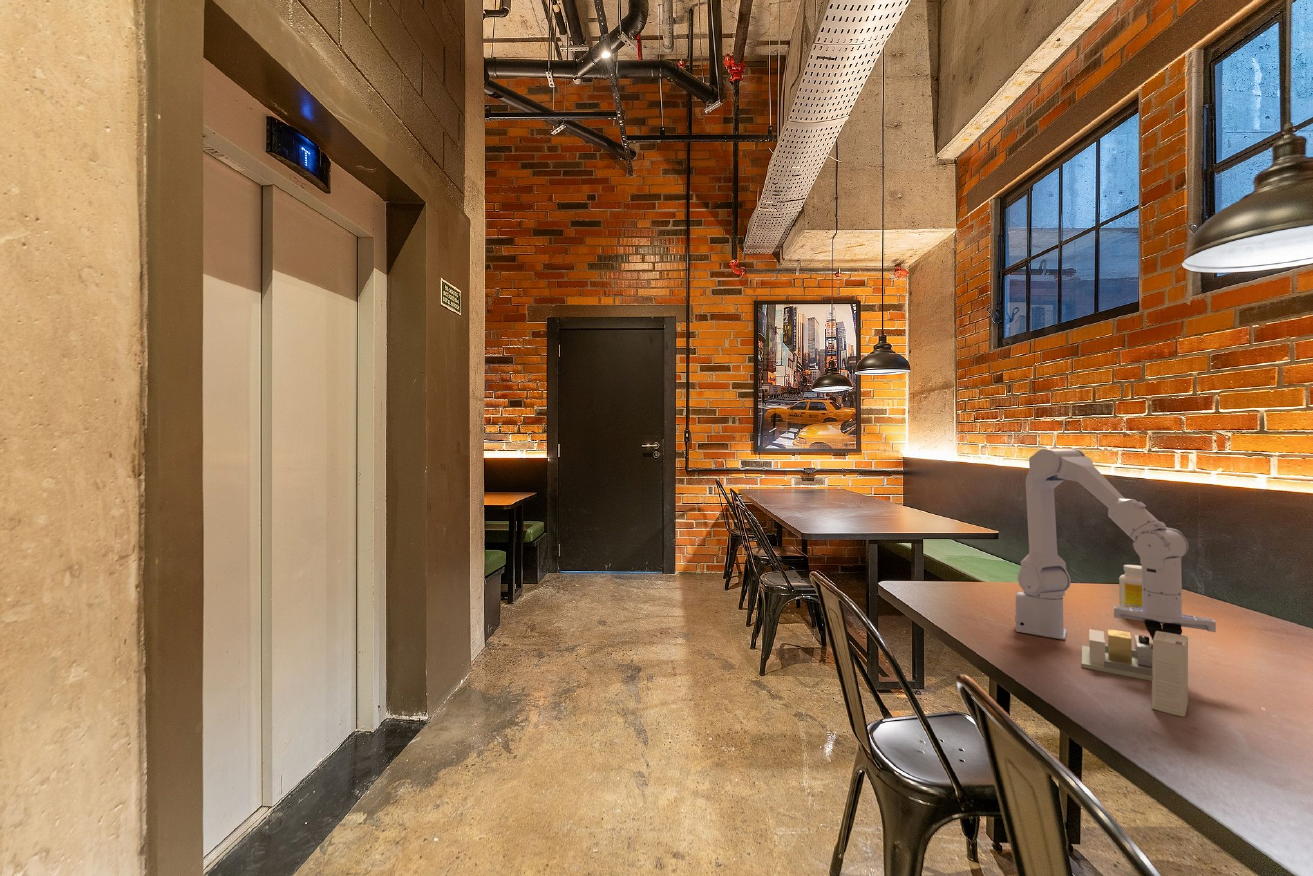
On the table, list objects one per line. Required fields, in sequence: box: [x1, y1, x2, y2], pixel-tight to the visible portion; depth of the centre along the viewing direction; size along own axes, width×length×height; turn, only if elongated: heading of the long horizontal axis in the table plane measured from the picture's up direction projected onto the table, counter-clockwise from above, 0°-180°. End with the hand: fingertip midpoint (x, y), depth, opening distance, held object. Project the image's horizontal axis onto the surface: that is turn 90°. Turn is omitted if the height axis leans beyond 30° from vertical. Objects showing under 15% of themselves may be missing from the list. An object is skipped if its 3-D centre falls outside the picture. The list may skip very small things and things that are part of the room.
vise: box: [1081, 628, 1152, 682], centre depth 110 cm, size 14×12×5 cm
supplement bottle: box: [1118, 564, 1143, 608], centre depth 140 cm, size 7×7×13 cm
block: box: [1107, 628, 1133, 665], centre depth 110 cm, size 4×4×6 cm
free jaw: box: [1134, 634, 1153, 668], centre depth 108 cm, size 2×8×5 cm, turn 142°
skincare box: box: [1151, 631, 1189, 718], centre depth 93 cm, size 6×4×12 cm
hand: (1163, 660), depth 106 cm, fingers closed
